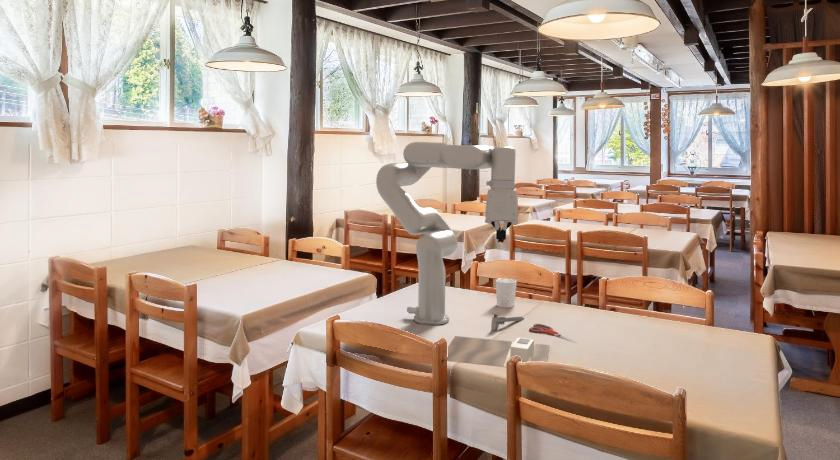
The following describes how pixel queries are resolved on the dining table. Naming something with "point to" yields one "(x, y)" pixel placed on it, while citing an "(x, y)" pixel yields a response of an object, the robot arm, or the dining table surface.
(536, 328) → the scissors
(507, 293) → the white cup
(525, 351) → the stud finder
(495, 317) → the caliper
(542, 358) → the subfloor panel
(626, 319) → the dining table surface
